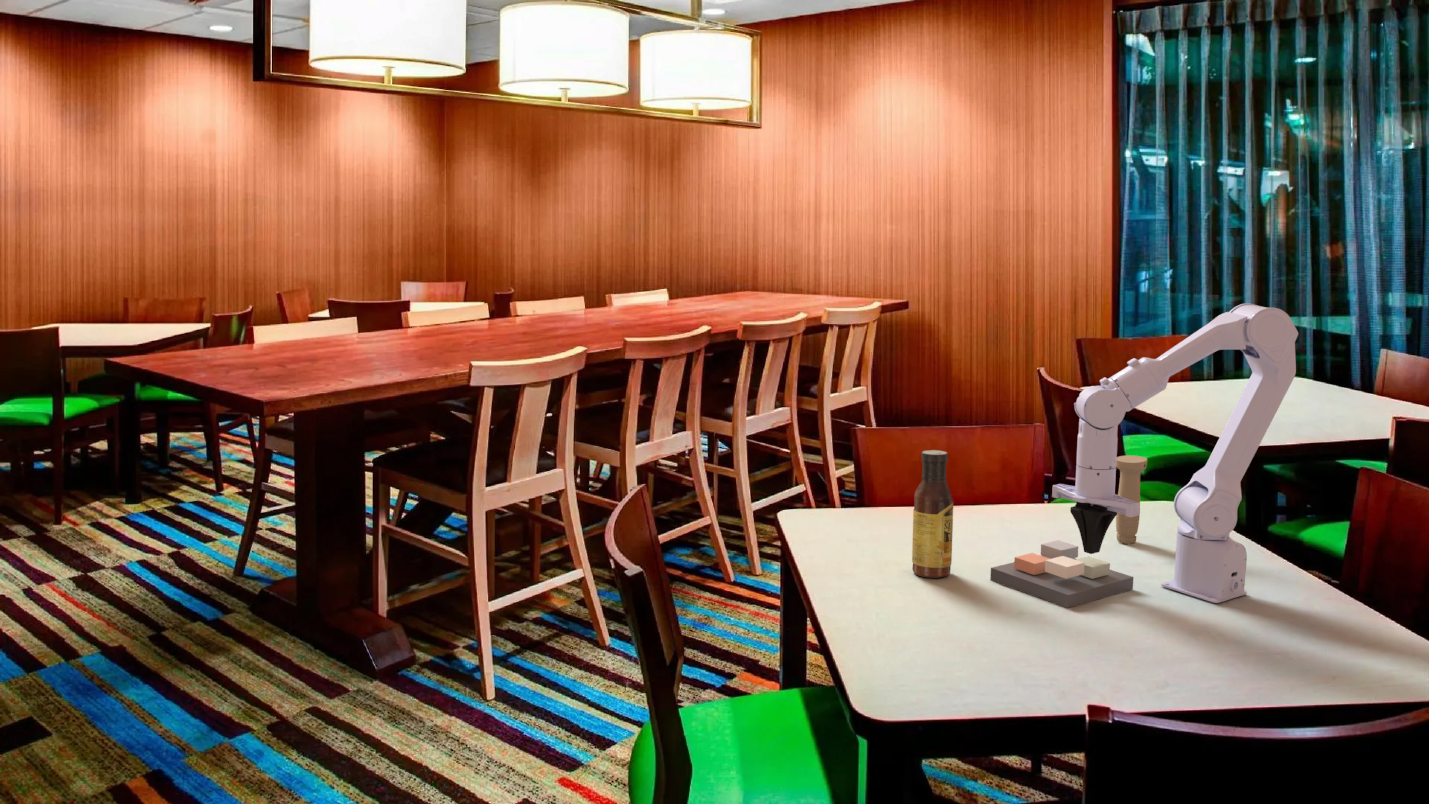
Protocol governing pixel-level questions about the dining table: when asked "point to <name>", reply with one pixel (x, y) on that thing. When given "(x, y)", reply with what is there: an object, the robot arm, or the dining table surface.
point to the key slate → (1059, 549)
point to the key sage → (1094, 567)
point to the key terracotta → (1030, 563)
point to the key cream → (1064, 567)
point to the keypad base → (1062, 585)
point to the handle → (1129, 495)
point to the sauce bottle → (932, 518)
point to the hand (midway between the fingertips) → (1091, 551)
